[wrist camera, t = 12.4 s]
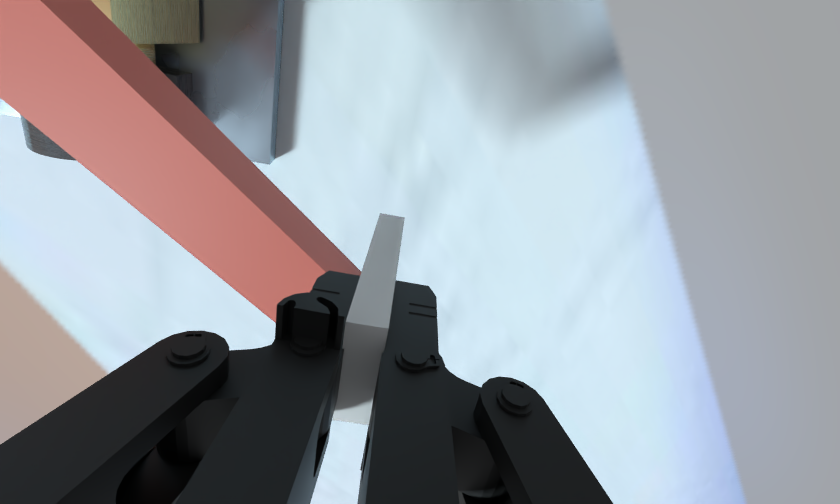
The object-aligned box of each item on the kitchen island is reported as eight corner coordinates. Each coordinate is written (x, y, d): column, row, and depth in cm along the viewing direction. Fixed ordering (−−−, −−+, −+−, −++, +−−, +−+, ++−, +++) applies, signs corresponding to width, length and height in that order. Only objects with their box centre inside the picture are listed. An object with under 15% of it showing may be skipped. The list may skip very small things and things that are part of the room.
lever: (-166, -153, 10) (-414, -241, 7) (-114, -242, 9) (-360, -381, 6) (321, 293, 17) (307, 348, 14) (368, 258, 16) (364, 309, 13)
